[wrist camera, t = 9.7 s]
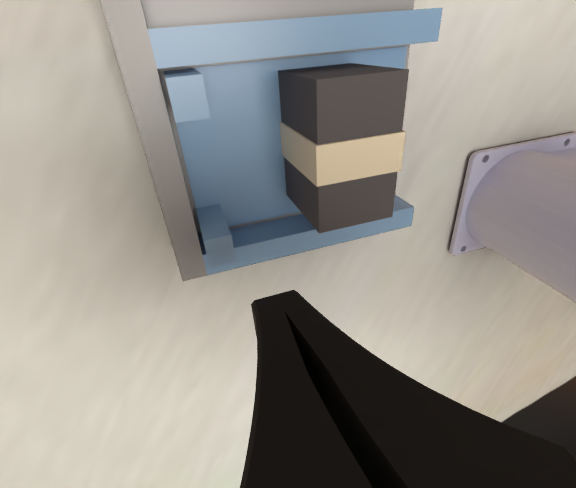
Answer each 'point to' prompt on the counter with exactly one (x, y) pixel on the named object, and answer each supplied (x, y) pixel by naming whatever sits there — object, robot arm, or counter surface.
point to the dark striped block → (342, 141)
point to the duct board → (243, 112)
